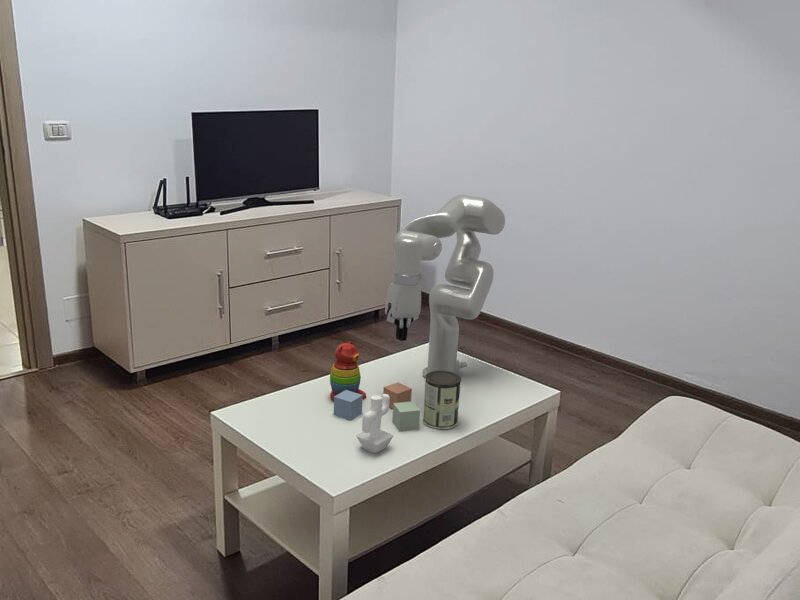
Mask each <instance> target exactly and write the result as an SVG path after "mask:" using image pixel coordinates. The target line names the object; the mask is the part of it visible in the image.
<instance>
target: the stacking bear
mask: <svg viewBox="0 0 800 600" xmlns="http://www.w3.org/2000/svg"><path fill="white" fill-rule="evenodd" d="M334 351H335V352H334V353H335V355H334V356H335V359H336V360H335V361H334V363H333V364H332V366H331V371H330V373H329V374H330V375H329V385H330V388H331V391H330V395H329V398H330V400H331V401H332V402H333V403H334V396H336V395H338V394H340V393H341V392H343V391H345V390H348V391H351V392H355V393H358V394H361V395H363V401H364V400H365V399H367V393H366V392H365V391H363V390H362V389H360V384H361V378H362V377H361V371H360V367H359V363H358V362H357V361H358V360H359V357H360V352H359V351H358V348H357V347H356V346H355V344H353V342H352V341H348V342H343V343H340V344H339V345H337V346H336V349H335V350H334Z"/></svg>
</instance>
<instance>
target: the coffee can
mask: <svg viewBox="0 0 800 600" xmlns="http://www.w3.org/2000/svg"><path fill="white" fill-rule="evenodd" d="M424 379H425V381H424V382H425V383H424V399H423V401H424V402H423V416H422V417H423V418H422V422H423V424H424V425H425V426H426V427H429V428H431V429H436V430H450V429H453V428H455V427H456V426H458V423H459V422H458V418H459V417H458V416H459V404H460V395H461V394H460V392H461V382H462V377H461V375H460V376H459V375H458V374H456V373H453V372H449V371H432V372H429V373H427V374H426V376H425V377H424Z"/></svg>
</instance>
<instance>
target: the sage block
mask: <svg viewBox="0 0 800 600" xmlns="http://www.w3.org/2000/svg"><path fill="white" fill-rule="evenodd" d="M420 417H421V410H420V408H419V407H418V406H417V404H416V403H415V402H414V401H412V400H411V402H401V403H393V410H392V424H393V425H394V426H395V428H396V429H397V431H398V432H405V431H413V430H419V429H420V419H421V418H420Z"/></svg>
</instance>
